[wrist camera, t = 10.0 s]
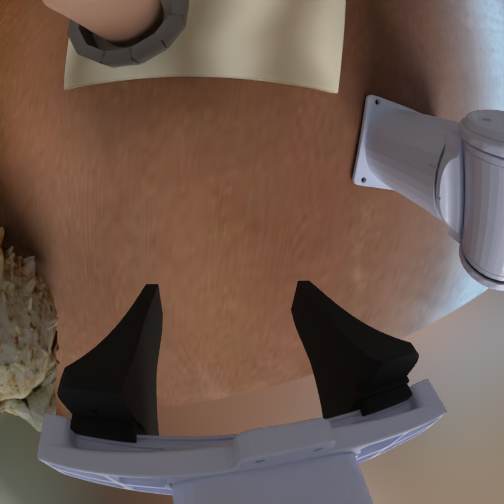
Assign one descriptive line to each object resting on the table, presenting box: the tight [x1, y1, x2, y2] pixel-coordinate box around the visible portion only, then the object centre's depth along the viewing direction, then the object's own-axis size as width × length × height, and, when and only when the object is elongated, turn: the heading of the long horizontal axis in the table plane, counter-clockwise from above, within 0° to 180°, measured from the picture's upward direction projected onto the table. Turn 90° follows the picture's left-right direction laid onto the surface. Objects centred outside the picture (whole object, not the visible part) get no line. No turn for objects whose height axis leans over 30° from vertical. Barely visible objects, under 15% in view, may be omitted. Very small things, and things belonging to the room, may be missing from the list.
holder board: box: [64, 0, 346, 93], centre depth 12 cm, size 20×10×4 cm, turn 85°
